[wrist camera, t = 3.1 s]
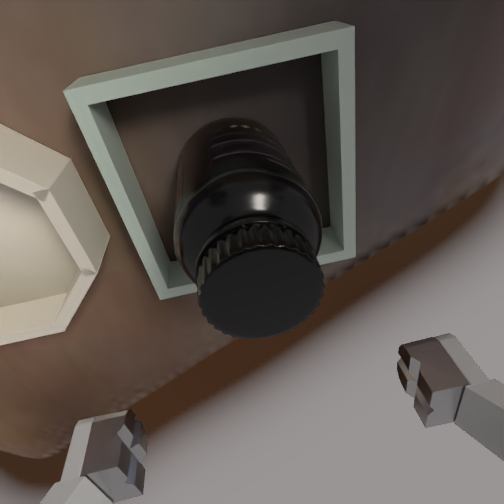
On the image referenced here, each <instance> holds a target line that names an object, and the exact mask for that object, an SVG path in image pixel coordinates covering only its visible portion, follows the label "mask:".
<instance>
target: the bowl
mask: <svg viewBox="0 0 504 504" xmlns="http://www.w3.org/2000/svg"><path fill="white" fill-rule="evenodd" d="M109 239H110V235H109V233H108V231H107V229H106V227H105V225H104V223H103V221H102V219H101V217H100V215H99V213H98V211H97V209H96V207H95V205H94V203H93V202H92V200H91V198H90V196H89V194H88V192H87V190H86V188H85V186H84V184H83V182H82V180H81V178H80V176H79V174H78V172H77V170H76V168H75V166H74V164H73V162H72V160H71V158H68V157H66V156H64V155H62V154H60V153H58V152H56V151H54V150H52V149H50V148H48V147H46V146H44V145H42V144H40V143H38V142H36V141H34V140H32V139H30V138H28V137H26V136H24V135H22V134H20V133H18V132H16V131H14V130H12V129H10V128H8V127H6V126H4V125H2V124H0V345H4V344H9V343H13V342H18V341H23V340H27V339H32V338H36V337H41V336H45V335H50V334H55V333H59V332H64V331H65V330H66V328H67V326H68V324H69V323H70V321H71V319H72V317H73V315H74V314H75V312H76V310H77V308H78V307H79V305H80V303H81V301H82V300H83V298H84V296H85V294H86V293H87V291H88V289H89V287H90V286H91V284H92V282H93V280H94V278H95V277H96V275H97V274H98V271H99V268H100V265H101V262H102V259H103V256H104V253H105V250H106V247H107V244H108V242H109Z"/></svg>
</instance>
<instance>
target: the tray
mask: <svg viewBox="0 0 504 504" xmlns="http://www.w3.org/2000/svg"><path fill="white" fill-rule="evenodd" d="M320 53H321V61H322V79H323V98H324V116H325V134H326V152H327V171H328V189H329V207H330V225H331V226H330V227H326V228H323V236H322V243H321V247H320V250H319V253H318V256H317V260H318V262H319V264H320V265H322V264H327V263H331V262H336V261H340V260H345V259H350V258H354V257H356V194H355V26H353V25H349V24H346V23H342V22H338V21H330V22H326V23H321V24H317V25H312V26H308V27H303V28H299V29H294V30H290V31H285V32H281V33H276V34H272V35H267V36H263V37H259V38H254V39H250V40H245V41H241V42H236V43H232V44H227V45H223V46H218V47H214V48H209V49H205V50H200V51H196V52H191V53H187V54H182V55H178V56H173V57H169V58H164V59H160V60H155V61H151V62H146V63H142V64H137V65H133V66H129V67H124V68H120V69H115V70H111V71H106V72H102V73H97V74H93V75H88V76H84V77H79V78H78V79H77V80H76V81H74V82H73V83H72V84H71V85H69V86H68V87H67V88H66V89H65V90H63V93H64V95H65V97H66V99H67V101H68V103H69V106H70V108H71V110H72V112H73V114H74V116H75V118H76V121H77V123H78V125H79V127H80V129H81V131H82V133H83V136H84V138H85V140H86V142H87V144H88V146H89V148H90V151H91V153H92V155H93V157H94V159H95V161H96V163H97V166H98V168H99V170H100V172H101V174H102V176H103V179H104V181H105V183H106V185H107V187H108V189H109V191H110V194H111V196H112V198H113V200H114V202H115V204H116V206H117V209H118V211H119V213H120V215H121V217H122V219H123V221H124V224H125V226H126V228H127V230H128V232H129V234H130V236H131V239H132V241H133V243H134V245H135V247H136V249H137V251H138V254H139V256H140V258H141V260H142V262H143V264H144V267H145V269H146V271H147V273H148V275H149V277H150V279H151V282H152V284H153V286H154V288H155V290H156V292H157V294H158V297H159V299H160V300H163V299H167V298H172V297H176V296H181V295H186V294H190V293H195V292H197V286H196V284H194V283H193V282H192V281H191V280H190V279H189V278H188V276H187V275H186V274H185V273H184V271H183V270H182V268H181V266H180V264H179V262H178V260H176V261H171V262H170V260H169V257H168V255H167V252H166V250H165V247H164V245H163V242H162V240H161V237H160V235H159V232H158V230H157V227H156V225H155V223H154V220H153V218H152V215H151V213H150V210H149V208H148V205H147V203H146V200H145V198H144V195H143V193H142V190H141V188H140V186H139V183H138V181H137V178H136V176H135V173H134V171H133V168H132V166H131V163H130V161H129V158H128V156H127V153H126V151H125V148H124V146H123V144H122V141H121V139H120V136H119V134H118V131H117V129H116V126H115V124H114V121H113V119H112V116H111V114H110V111H109V109H108V107H107V104H106V102H105V101H108V100H113V99H117V98H122V97H126V96H131V95H135V94H140V93H144V92H149V91H153V90H158V89H162V88H167V87H171V86H176V85H180V84H185V83H189V82H194V81H198V80H203V79H207V78H212V77H216V76H221V75H225V74H230V73H234V72H239V71H243V70H248V69H252V68H257V67H261V66H266V65H270V64H275V63H279V62H284V61H288V60H293V59H297V58H302V57H306V56H311V55H315V54H320Z"/></svg>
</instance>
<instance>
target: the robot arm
mask: <svg viewBox="0 0 504 504" xmlns="http://www.w3.org/2000/svg"><path fill="white" fill-rule="evenodd" d="M398 353H399V355H400V356H401V359H400V360H399V361H398V362H397V370H398V375H399V378H400V381H401V383H402V386H403V388H404V390H405V391H406V393H408V394H409V395H411V396H412V397H414V398H415V400H414V408H415V410H416V412H417V413H418V415H419V417H420V419H421V421H422V422H423V424H424V426H425V427H426V428H427V427H432V426H436V425H442V424H446V423H451V422H455V424H456V425H457V426H459V427H460V428H461V429H462V430H464V431H465V432H466V433H468V434H469V435H470V436H472V437H473V438H474V439H476V440H477V441H478V442H480V443H481V444H482V445H484V446H485V447H486V448H487V449H489V450H490V451H491V452H493V453H494V454H495V455H497V456H498V457H499V458H501V459H502V460H503V461H504V384H503V383H501V382H499V381H497V380H495V379H493V380H489V379H488V378H487V376H486V375H485V374H484V372H483V371H482V370H481V369H480V367H479V366H478V365H477V363H475V361H474V360H473V358H472V357H471V356H470V355H469V353H468V352H467V351H466V349H465V348H464V347H463V346H462V344H461V343H460V342H459V341H458V340H457V338H456V337H455V336H454V335H452V334H444V335H440V336H437V337H430V338H426V339H422V340H418V341H414V342H411V343H407V344H403V345H401V346H400V347H399V351H398ZM135 417H136V414H135V413H134V411H133V410H132V409H127V410H123V411H118V412H114V413H110V414H105V415H101V416H95V417H91V418H87V419H83V420H79V421H78V423H77V424H76V426H75V428H74V431H73V435H72V439H71V443H70V447H69V450H68V454H67V458H66V462H65V465H64V469H63V473H62V477H61V480H60V482H56V483H55V484H54V485H53V486H52V487H51V489H50V490H49V492H48V493H47V494H46V495H45V497H44V498H43V499H42V501H41V502H40V503H39V504H114V502H117V501H121V500H125V499H128V498H132V497H136V496H140V495H143V488H144V478H145V469H144V467H143V466H142V464H141V462H142V460H143V459H144V457H145V456H146V454H147V434H146V430H145V428H144V425H143V424H142V423H141V422H139V421H137V420H135Z"/></svg>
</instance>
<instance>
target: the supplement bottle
mask: <svg viewBox="0 0 504 504" xmlns="http://www.w3.org/2000/svg"><path fill="white" fill-rule="evenodd" d="M322 236H323V225H322V219H321V215H320V212H319V209H318V207H317V204H316V202H315V200H314V199H313V197H312V195H311V193H310V192H309V190H308V188H307V187H306V185H305V183H304V181H303V180H302V178H301V176H300V175H299V173H298V171H297V170H296V168H295V166H294V165H293V163H292V161H291V160H290V158H289V156H288V155H287V153H286V151H285V150H284V148H283V146H282V145H281V143H280V142H279V140H278V139H277V138H276V137H275V136H274V134H273V133H272V132H270V131H269V130H268V129H267V128H266V127H264V126H262V125H261V124H259V123H257V122H255V121H252V120H248V119H244V118H224V119H219V120H216V121H213V122H211V123H209V124H207V125H205V126H203V127H202V128H200V129H199V130H198V131H197V132H195V133H194V134H193V135H192V137H191V138H190V139H189V140H188V142H187V143H186V145H185V147H184V149H183V151H182V153H181V156H180V160H179V166H178V174H177V188H176V202H175V216H174V232H173V239H174V249H175V254H176V257H177V260H178V262H179V264H180V266H181V268H182V270H183V271H184V273H185V274H186V275H187V276H188V278H189V279H190V280H191V281H192V282H193V283H194V284H196V286H197V293H198V302H199V306H200V308H201V309H202V314H203V316H205V317H206V318H207V320H208V323H210V324H212V325H213V326H214V328H215V329H217V330H220V331H222V332H223V333H224V334H228V335H231V336H232V337H240V338H242V339H255V340H256V339H260V338H265V339H267V338H270V337H272V336H278V335H280V334H282V333H286V332H289V331H290V330H291V329H293V328H296V327H298V326H299V325H300V324H301V323H302V322H304V321H306V320H307V319H308V317H309V316H310V315H312V314H313V313H314V312H315V309H316V308H317V307H318V306H319V305H320V299H321V298H322V296H323V292H322V291H323V289H324V282H323V279H324V275H323V272H322V270H321V268H320V264H319V262H318V260H317V256H318V253H319V250H320V247H321V243H322Z"/></svg>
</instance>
